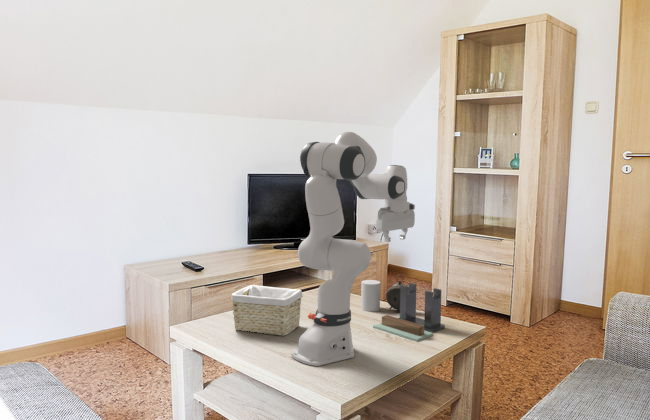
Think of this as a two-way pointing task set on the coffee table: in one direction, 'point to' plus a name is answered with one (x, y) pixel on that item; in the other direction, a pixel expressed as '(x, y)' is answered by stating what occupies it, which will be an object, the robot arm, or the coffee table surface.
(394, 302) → the alarm clock
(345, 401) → the coffee table surface
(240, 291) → the storage basket
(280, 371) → the coffee table surface
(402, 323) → the rail
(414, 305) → the hook stand
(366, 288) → the white cylinder
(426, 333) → the mat
